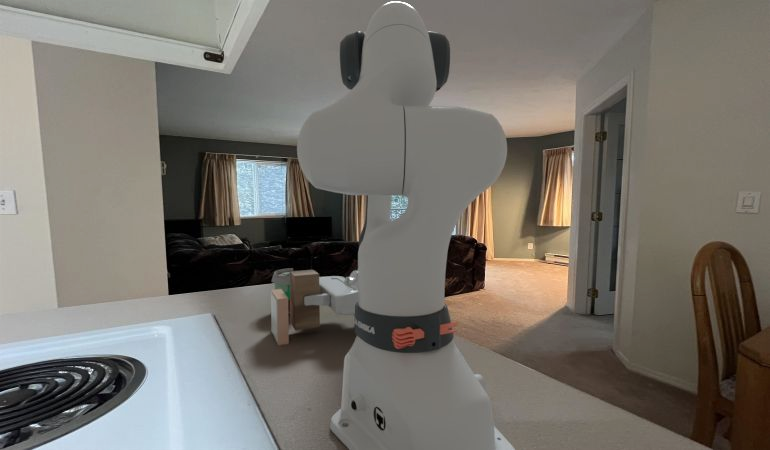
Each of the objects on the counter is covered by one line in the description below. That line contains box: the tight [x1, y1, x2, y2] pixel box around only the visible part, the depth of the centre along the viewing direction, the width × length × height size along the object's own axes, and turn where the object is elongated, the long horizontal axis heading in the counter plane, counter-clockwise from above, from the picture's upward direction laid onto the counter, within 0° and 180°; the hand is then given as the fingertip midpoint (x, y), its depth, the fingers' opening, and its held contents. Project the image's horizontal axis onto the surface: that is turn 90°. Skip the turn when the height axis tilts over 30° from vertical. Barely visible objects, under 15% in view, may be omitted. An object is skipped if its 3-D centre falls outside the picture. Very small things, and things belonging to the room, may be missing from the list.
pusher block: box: [289, 269, 321, 331], centre depth 73 cm, size 5×5×11 cm
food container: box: [271, 267, 294, 317], centre depth 88 cm, size 12×6×10 cm, turn 25°
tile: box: [270, 289, 290, 346], centre depth 71 cm, size 8×2×9 cm, turn 26°
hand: (300, 296), depth 72 cm, fingers closed on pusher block, 5 cm apart
